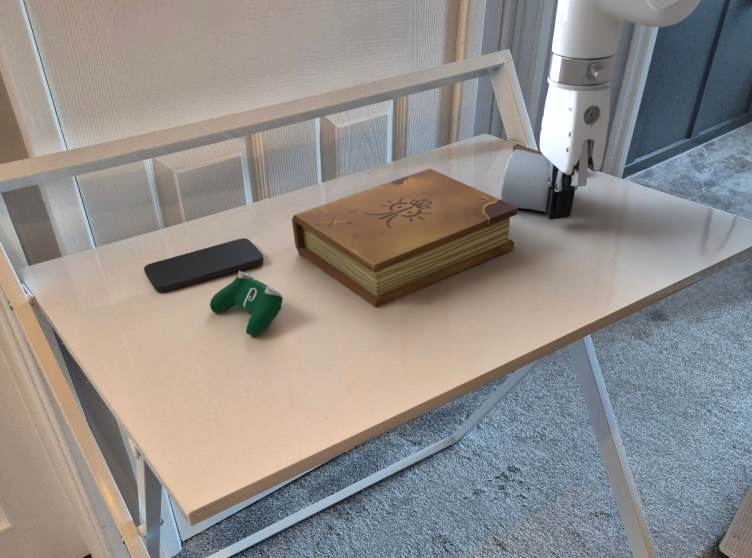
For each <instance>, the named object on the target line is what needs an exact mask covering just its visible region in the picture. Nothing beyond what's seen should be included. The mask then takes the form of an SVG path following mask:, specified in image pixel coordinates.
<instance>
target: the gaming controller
mask: <svg viewBox="0 0 752 558" xmlns="http://www.w3.org/2000/svg"><path fill="white" fill-rule="evenodd" d="M283 299H284V297H283V296H282V294H281V293H280V291H278V290H277V289H275V288H273V287H271V286H269V285H267V284H266V283H264V282H262V281H260V280H257V279H255V278H254V277H253V276H252V275H250V274H248V273H246V272H243V271H241V270H238V274H237V276H236V277H235V278H234V280H233V281H231V283H229V284H227V285H226V286H225V287H223V288H221V289H220V290H219V291H217V292H216V293H215V294H214V295H213V296H212V298H211V299H210V302H209V307H210V310H211V312H213V313H214V314H220V313H219V312H221V313H224V312H226V311H227V310H230V309H231V308H234V307H238V308H240V309H242V310H243V311H245V312H247V313H249V314H250V317H249V319H248V322H247V325H246V328H245V330H246V331H245V333H246V334H247V335H249V336H250V337H252V338H255V337H256V336H257V335H259V334H261V333H262V332H263V331H264V330H265V329H267V327H269V326H270V324H271V323H272V322H273V321H274V320H275V319H276V317H277V316H278V315H279V313H280V311H281V310H282V304H283ZM223 311H224V312H223Z"/></svg>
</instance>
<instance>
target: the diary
mask: <svg viewBox="0 0 752 558" xmlns="http://www.w3.org/2000/svg"><path fill="white" fill-rule="evenodd" d="M518 213H519V208H518V207H515V206H513V205H511V204H509V203H506V202H504V201H502V200H501V198H497V197H495V196H493V195H491V194H489V193H486V192H484V191H482V190H479V189H477V188H475V187H472V186H470V185H469V184H466V183H464V182H462V181H459V180H457V179H454V178H452V177H450V176H448V175H446V174H444V173H441V172H439V171H437V170H434V169H432V168H427V169H423V170H421V171H418V172H415V173H413V174H409V175H406V176H403V177H401V178H398V179H395V180H392V181H389V182H386V183H383V184H381V185H377V186H375V187H372V188H369V189H366V190H363V191H360V192H357V193H354V194H352V195H348V196H345V197H343V198H340V199H337V200H333V201H331V202H328V203H325V204H322V205H319V206H316V207H314V208H311V209H308V210H304V211H302V212H299V213H296V214H294V215H293V216H292V219H291V223H292V231H293V232H292V233H293V238H294V246H295V248H296V251H297V253H298V255H300V256H301V257H303V258H304V259H305V258H306V259H305V260H307V261H308V260H309V261H308V262H309V263H311V262H312V263H311V264H313V265H314V266H315V265H316V267H317V266H318V267H319V268H318V267H317V268H318V269H319V270H321V269H322V270H321V271H323V272H324V273H326V274H327V275H328V276H330V277H331V278H333V280H336V281H337V282H339V283H340V284H341V285H343V286H344V287H345V288H347V289H349V290H350V291H351V292H353V293H354V294H356V295H357V296H358V297H360V298H361V299H363V300H364V301H366V302H367V303H369V304H370V305H371V306H373V307H375V308H378V307H380V306H382V305H384V304H387V303H389V302H392V301H393V300H394V301H395V300H396V299H399V298H401V297H403V296H405V295H408V294H411V293H413V292H415V291H417V290H420V289H422V288H424V287H427V286H429V285H431V284H433V283H436V282H438V281H441V280H443V279H445V278H448V277H451V276H452V275H454V274H457V273H460V272H461V271H464V270H467V269H469V268H471V267H473V266H476V265H478V264H481V263H483V262H485V261H487V260H490V259H492V258H494V257H496V256H499V255H502V254H504V253H506V252H508V251H511V250H513V249H515V243H516V241H514V240H512V239H510V238H509V232H510V222H511V218H512V217H515V216H517V215H518Z"/></svg>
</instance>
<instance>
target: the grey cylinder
mask: <svg viewBox="0 0 752 558" xmlns="http://www.w3.org/2000/svg"><path fill="white" fill-rule="evenodd" d="M505 165H506V166H505V168H504V171H503V176H502V181H501V187H500V200H502V201H504V202H506V203H509V204H511V205H513V206H515V207H518V209H523V210H531V211H537V212H544V213H545V206H546V200H547V193H548V187H549V186H552V185H549V184H548V172H549V166H548V162H547V161H546V159H545V156H544V155H540V154H536V153H532V152H527V151H523V150H518V149H516V150H514V151H513V150H512V152H511V154H510V156H509V158H508V160H507V162H506V164H505Z"/></svg>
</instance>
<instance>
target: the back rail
mask: <svg viewBox="0 0 752 558" xmlns="http://www.w3.org/2000/svg"><path fill="white" fill-rule="evenodd" d="M516 149H518V150H523V151H527V152H532V153H536V154H540V155H543V154H542V152H541V151H539V150H536V149H533V148H530V147H527V146H524V145H521V144H518V143H516V144H513V145H512V152H513V151H514V150H516Z"/></svg>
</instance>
